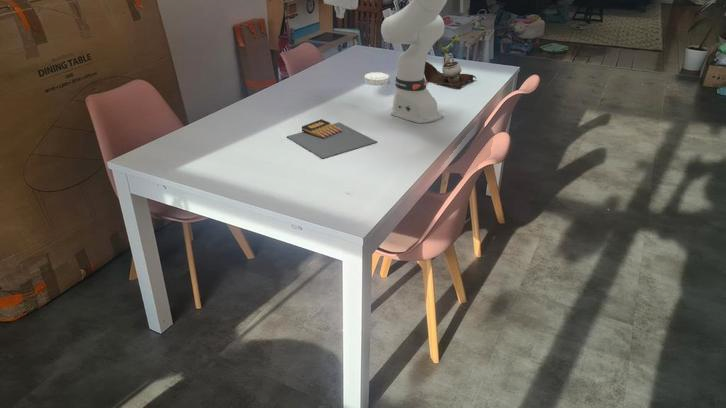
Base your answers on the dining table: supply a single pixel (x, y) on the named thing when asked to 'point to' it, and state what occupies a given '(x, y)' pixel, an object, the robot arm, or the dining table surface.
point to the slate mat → (332, 141)
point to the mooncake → (376, 78)
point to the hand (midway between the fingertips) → (340, 17)
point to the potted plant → (447, 70)
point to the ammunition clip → (320, 128)
